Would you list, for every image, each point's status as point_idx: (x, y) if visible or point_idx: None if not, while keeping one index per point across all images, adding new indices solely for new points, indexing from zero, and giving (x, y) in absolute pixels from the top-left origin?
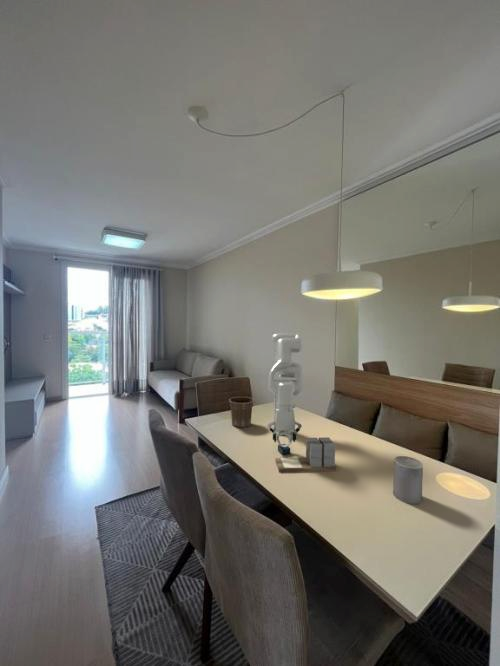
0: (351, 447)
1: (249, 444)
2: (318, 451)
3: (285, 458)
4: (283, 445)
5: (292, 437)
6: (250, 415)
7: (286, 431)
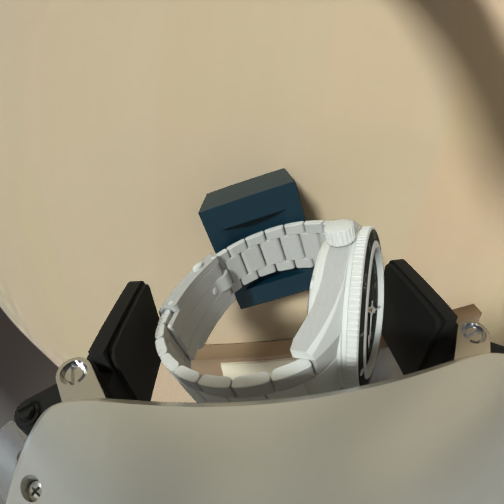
0: None
1: (4, 117)
2: None
3: (252, 369)
4: (261, 242)
5: (399, 281)
6: None
7: (340, 366)
